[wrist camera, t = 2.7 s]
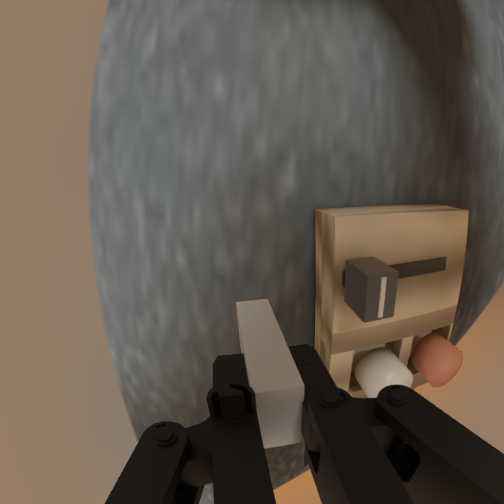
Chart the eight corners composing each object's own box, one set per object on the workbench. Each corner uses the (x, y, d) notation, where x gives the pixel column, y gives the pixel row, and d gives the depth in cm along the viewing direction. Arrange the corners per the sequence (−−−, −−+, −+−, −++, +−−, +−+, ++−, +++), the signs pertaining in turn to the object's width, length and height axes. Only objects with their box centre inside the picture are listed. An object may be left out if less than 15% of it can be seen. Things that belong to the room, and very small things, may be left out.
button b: (356, 352, 20) (375, 376, 17) (396, 342, 21) (417, 364, 18) (351, 387, 21) (367, 412, 18) (389, 377, 22) (407, 399, 19)
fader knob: (345, 259, 18) (368, 276, 15) (373, 256, 18) (399, 271, 15) (344, 301, 18) (364, 323, 15) (371, 297, 18) (394, 317, 16)
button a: (415, 337, 21) (436, 357, 18) (445, 328, 21) (467, 345, 18) (407, 371, 22) (425, 392, 19) (437, 361, 22) (456, 379, 19)
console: (314, 208, 21) (336, 217, 17) (438, 204, 22) (470, 211, 18) (312, 384, 25) (325, 414, 21) (417, 357, 26) (438, 379, 22)
